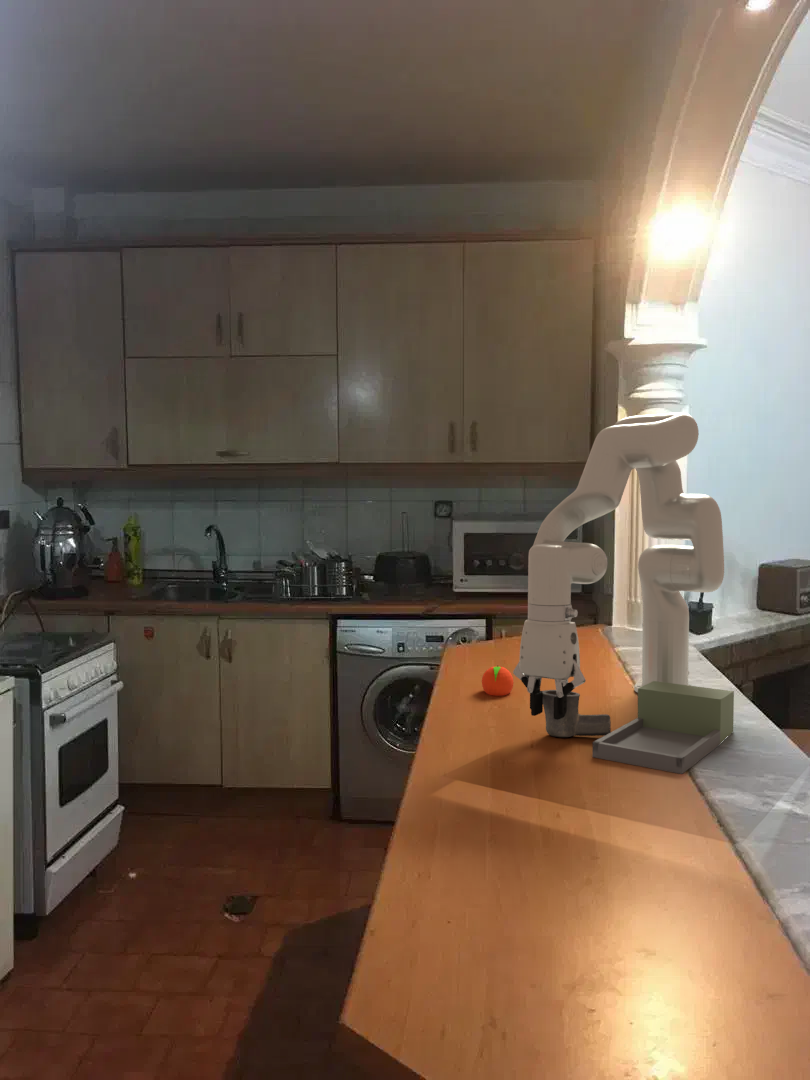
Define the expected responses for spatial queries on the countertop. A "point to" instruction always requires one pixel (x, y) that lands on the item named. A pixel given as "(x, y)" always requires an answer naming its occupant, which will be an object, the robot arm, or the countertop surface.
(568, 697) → the pipe
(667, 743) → the gray tray
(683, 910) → the countertop surface
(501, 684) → the clementine
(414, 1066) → the countertop surface
